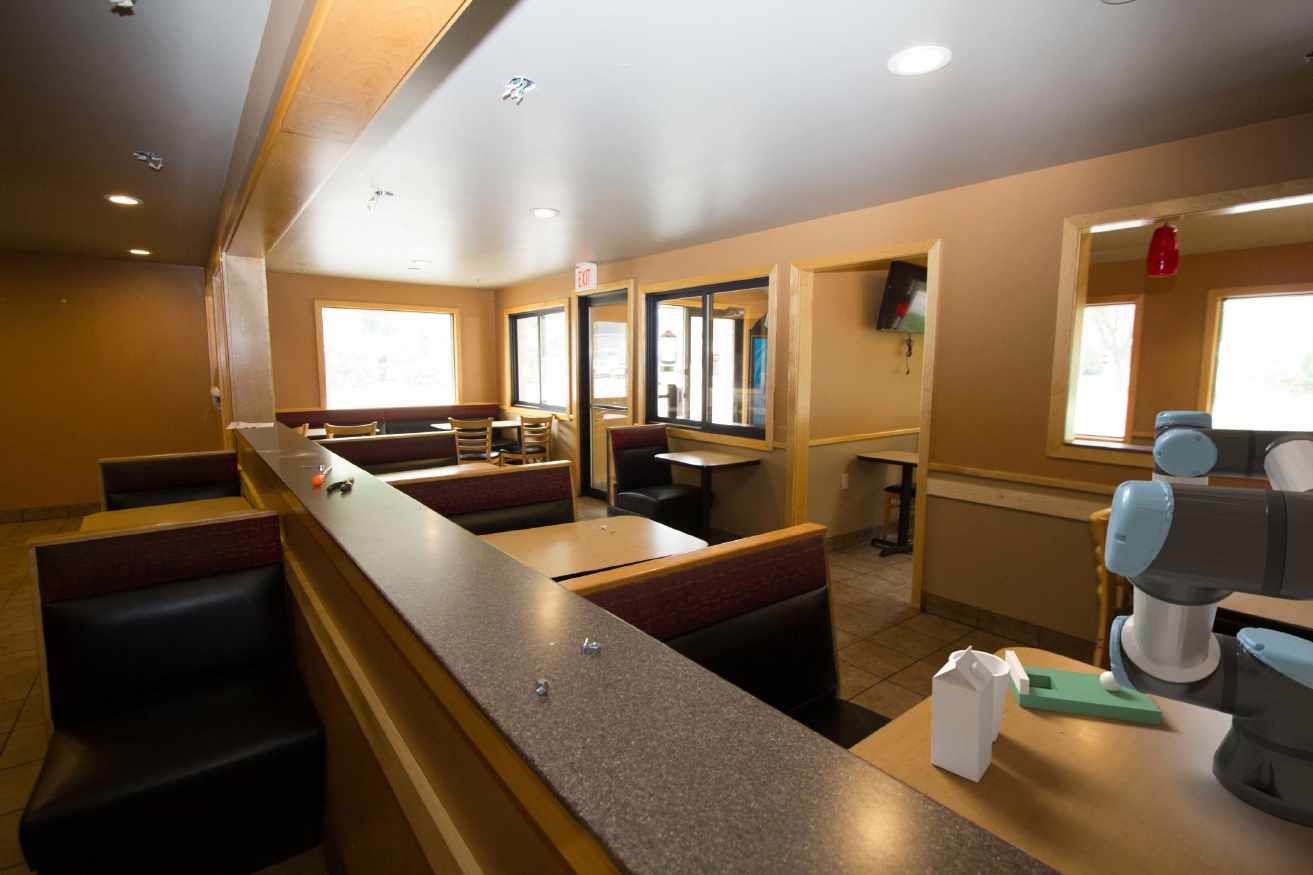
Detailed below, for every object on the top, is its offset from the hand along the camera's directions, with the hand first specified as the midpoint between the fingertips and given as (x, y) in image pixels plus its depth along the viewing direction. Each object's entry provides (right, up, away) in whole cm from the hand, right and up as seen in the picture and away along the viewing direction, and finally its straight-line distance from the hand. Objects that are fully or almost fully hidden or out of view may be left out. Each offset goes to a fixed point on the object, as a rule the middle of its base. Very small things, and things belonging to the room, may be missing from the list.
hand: (1170, 623), depth 109 cm
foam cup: (-37, -19, -3) cm, 42 cm away
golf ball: (-8, -14, +4) cm, 17 cm away
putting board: (-13, -16, +6) cm, 22 cm away
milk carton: (-44, -20, -11) cm, 50 cm away
